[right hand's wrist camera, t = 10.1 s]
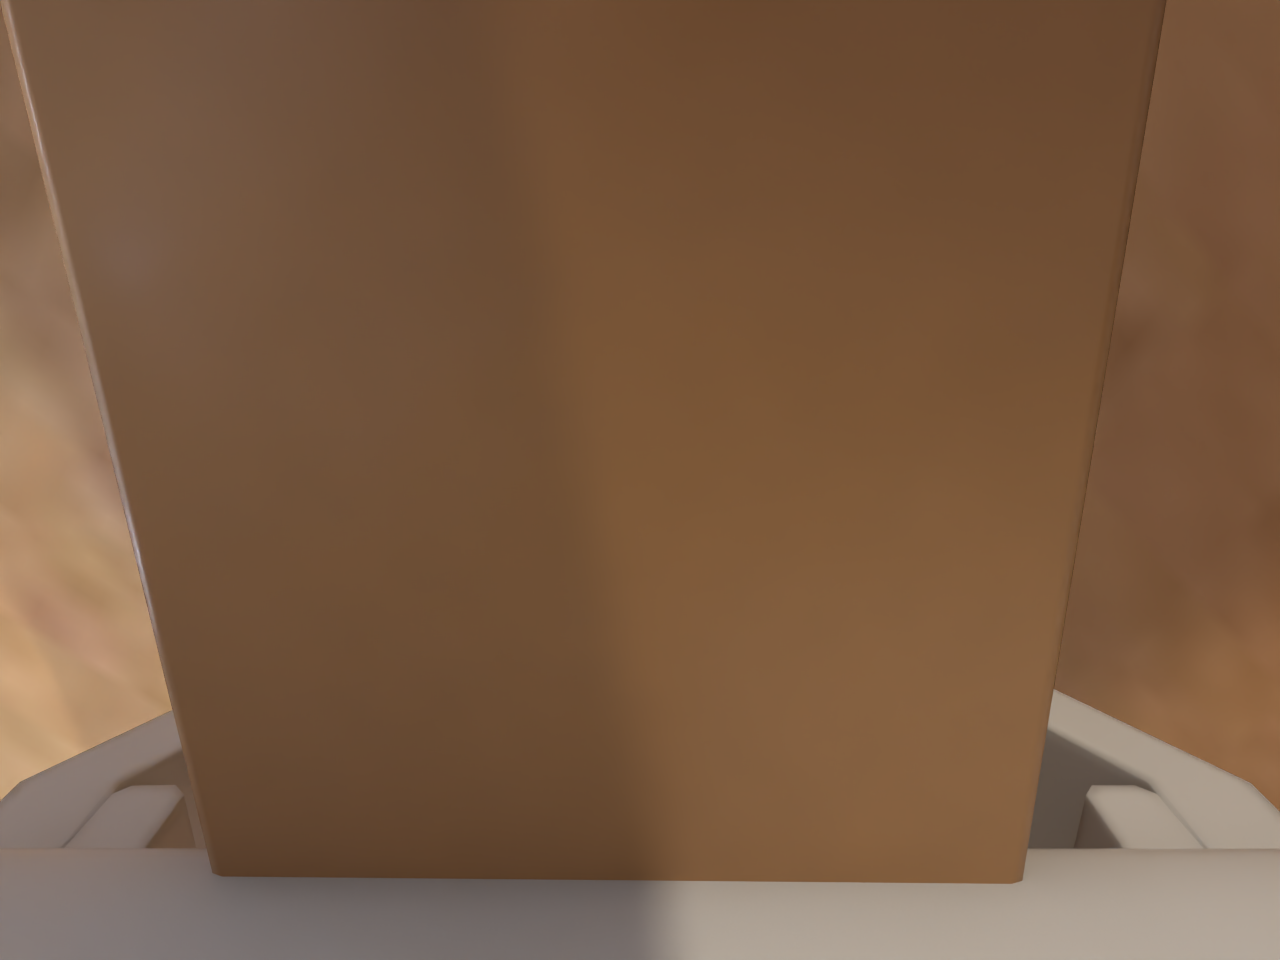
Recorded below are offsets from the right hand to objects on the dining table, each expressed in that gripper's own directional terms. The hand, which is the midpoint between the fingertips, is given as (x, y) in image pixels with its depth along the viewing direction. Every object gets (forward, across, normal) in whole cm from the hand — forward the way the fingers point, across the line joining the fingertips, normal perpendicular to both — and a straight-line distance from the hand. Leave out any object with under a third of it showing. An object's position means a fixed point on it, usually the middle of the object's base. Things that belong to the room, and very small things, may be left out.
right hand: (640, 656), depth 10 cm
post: (+3, +1, -28) cm, 28 cm away
